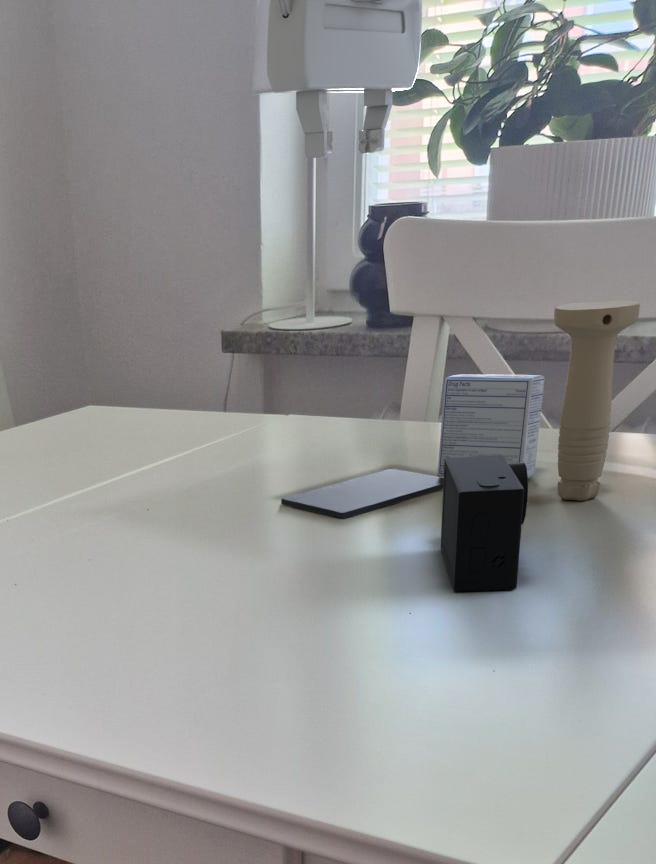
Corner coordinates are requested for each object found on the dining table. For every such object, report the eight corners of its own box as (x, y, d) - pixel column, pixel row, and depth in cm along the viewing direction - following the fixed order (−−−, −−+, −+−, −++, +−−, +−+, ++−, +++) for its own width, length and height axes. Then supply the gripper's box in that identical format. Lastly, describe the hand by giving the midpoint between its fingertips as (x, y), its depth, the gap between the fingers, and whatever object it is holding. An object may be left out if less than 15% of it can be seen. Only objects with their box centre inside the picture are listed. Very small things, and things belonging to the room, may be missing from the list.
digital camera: (534, 590, 80) (543, 486, 76) (454, 593, 81) (459, 490, 77) (512, 546, 89) (520, 452, 85) (440, 549, 89) (444, 456, 86)
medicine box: (535, 477, 106) (547, 374, 103) (521, 482, 103) (533, 376, 99) (451, 472, 110) (460, 373, 106) (435, 477, 106) (444, 375, 103)
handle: (625, 500, 97) (649, 304, 90) (549, 507, 97) (567, 311, 90) (604, 487, 101) (625, 298, 94) (531, 493, 101) (546, 305, 94)
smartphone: (391, 473, 111) (391, 468, 111) (455, 485, 106) (455, 480, 105) (281, 504, 105) (280, 498, 104) (343, 518, 99) (342, 513, 99)
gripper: (317, -65, 84) (318, 157, 91) (437, -44, 98) (430, 148, 105) (243, -51, 87) (250, 163, 94) (369, -32, 101) (367, 153, 108)
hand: (345, 155), depth 100 cm, fingers open, 8 cm apart
